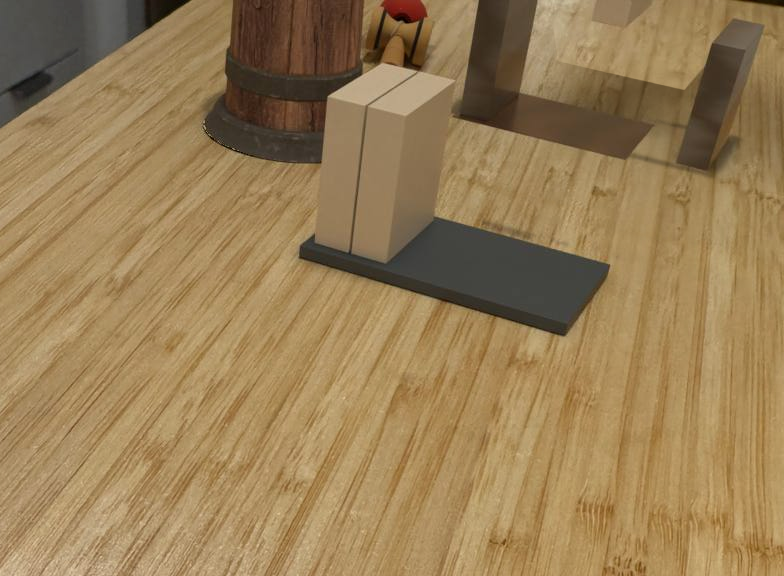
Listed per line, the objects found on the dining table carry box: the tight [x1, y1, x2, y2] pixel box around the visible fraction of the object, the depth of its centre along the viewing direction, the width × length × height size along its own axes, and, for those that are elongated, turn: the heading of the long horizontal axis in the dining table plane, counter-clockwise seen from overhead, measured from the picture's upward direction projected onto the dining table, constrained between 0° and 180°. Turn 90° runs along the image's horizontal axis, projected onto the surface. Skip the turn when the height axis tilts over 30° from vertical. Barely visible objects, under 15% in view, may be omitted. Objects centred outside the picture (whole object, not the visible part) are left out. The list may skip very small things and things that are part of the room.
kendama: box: [364, 0, 435, 68], centre depth 126 cm, size 8×6×18 cm
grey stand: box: [451, 0, 765, 172], centre depth 111 cm, size 26×12×12 cm, turn 63°
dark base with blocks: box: [298, 63, 611, 336], centre depth 87 cm, size 22×12×12 cm, turn 63°
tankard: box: [204, 0, 365, 164], centre depth 106 cm, size 24×17×20 cm
